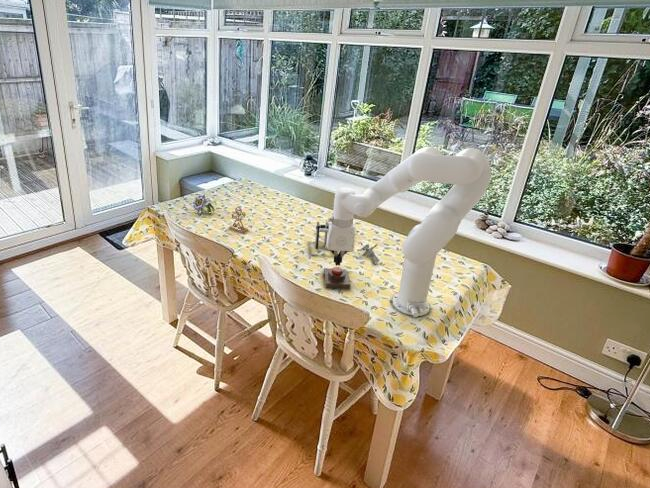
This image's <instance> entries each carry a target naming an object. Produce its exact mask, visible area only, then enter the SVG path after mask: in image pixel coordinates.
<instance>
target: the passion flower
mask: <svg viewBox="0 0 650 488" xmlns="http://www.w3.org/2000/svg"><path fill="white" fill-rule="evenodd" d="M206 197H207V194H206V193H203V194H201V195H198V196H196V197H195V198H194V200H193V201H192V203H191V204H190V206H191V207H192V206H193V208H194V211H195V210H197V211H195V214H202V212H203V209H204V210H206V209H207V213H208V214H209V215H212V213H213V212H215V207H214V206H213V205H212V203H214V204H215V206H217V205H218V204H217V201H216V200H213V201H212V202H209V201H210V198H206ZM209 212H211V213H209Z"/></svg>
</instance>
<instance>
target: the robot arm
mask: <svg viewBox="0 0 650 488" xmlns="http://www.w3.org/2000/svg"><path fill="white" fill-rule="evenodd" d="M491 169H492V168H491V164H490V161H489V159H488V157H487V155H486V154H485V153H484V152H483V151H482V150H481V149H479V148H477V147H467V148H464V149H462V150H461V151H459V152H458V153H457V154H456V155H447V154H442V153H441V151H440V150H439V149H437V148H436V147H433V146H424V147H421V148H420V149H417V150H416V151H415V152H413V153H412V154H411V155H409V156H408V157H406V159H404V160H403V161H401V162H400V163H399V164H397V165H396V166H395V167H393V168H392V169H391V170H389V171H388V172H386V174H385V175H384V176H382V177H381V178H380V179H378V180H377V181H375V182H373V184H371V185H370V186H368V187H367V188H366V189H364V190H362V192H361V193H359V194H357V192H356V190H354V189H353V188H350V187H339V188H337V189H336V190H335V193H334V199H333V209H332V215H331V216H330V217H328V218H327V219H328V221H327V222H329V228H328V233H327V238H326V246H325V248H324V250H325V251H328V252H330V253H332V255H333V263H334V264H335V267H340V266H341V263H343V258H344V257H345V255H346V254H347V253H352V252H354V249H355V242H356V227H355V224H354V216H358V217H360V218H367V217H370V216H371V215H372V214H373V212H374V211H376V210H377V208H378V207H379V206H381V205H382V204H383V203H384V202H386V201H387V200H389V199H390V198H392V197H393V196H395V195H397V194H399V193H406V192H407V191H409V190H410V189H411V188H413V187H414V186H416V185H418V184H420V183H421V182H429V183H436V184H447V185H452V186H451V187H450V189H449V190H448V191H447V192H446V193H445V195H443V197H442V198H441V199H440V200H439V201H438V202H437V203H436V204H435V205H433V207H432V208H431V209H430V210H429V211H428V213H427V215H426V216H425V218H424V219H423V220H422V221H421V222H420V223H419V224H416V225H415V226H413V228H412V229H410V231H409V233H408V234H407V236H406V238H405V240H404V241H403V243H402V246H401V247H402V248H401V249H402V254H403V257H404V259H403V266H402V271H401V277H400V282H399V287H398V293H396V294H394V296H393V297H392V305H393V306H394V307H395V309H396V310H398V311H399V312H401V313H403V314H405V315H409V316H413V318H417V317H421V316H425V315H427V314H428V313H429V312H430V307H431V305H430V304H429V302H428V301H427V300H428V295H429V290H430V285H431V282H432V276H433V272H434V268H435V264H436V263H435V262H436V259H437V255H438V253H439V252H440V251H441V250H443V248H444V247H446V246H447V244H448V243H449V242H451V240H452V239H453V238H454V237H455V235H456V234H457V231H458V229H459V228H460V225H461V222H462V221H463V219H464V218H465V217H466V216H467V215H468V214H469V213H470V212H471V211H472V209H473V208H474V207H475V206H476V205H477V204H478V202H480V200H481V199H482V198H483V196H484V195H485V193H486V192H487V190H488V188H489V185H490V182H491V178H492V177H491V176H492V171H491Z"/></svg>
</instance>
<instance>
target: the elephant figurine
mask: <svg viewBox="0 0 650 488" xmlns="http://www.w3.org/2000/svg"><path fill="white" fill-rule="evenodd" d="M378 245H379V244H378V243H376V244H375V245H374V246H372V247H370V244H369V243H367V244H366V245H363V247H361V249H360V250H361V251H362V252H363V253H362V254H361V256H365V255H366V256H367V258H369V259H370V260H371V262H373V264H374V265H377V264H378V263H377V262H380V261H381V259H379V258H378V256H377V255H376V254H375V252H374V251H373V250H374V249H375V248H376V247H377V246H378Z"/></svg>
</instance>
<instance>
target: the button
mask: <svg viewBox="0 0 650 488" xmlns="http://www.w3.org/2000/svg"><path fill="white" fill-rule="evenodd" d="M332 268H333V271H332V273H333V274H335V275H341V274H342V269H343V268H342V267H340V266H334V267H332Z"/></svg>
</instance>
